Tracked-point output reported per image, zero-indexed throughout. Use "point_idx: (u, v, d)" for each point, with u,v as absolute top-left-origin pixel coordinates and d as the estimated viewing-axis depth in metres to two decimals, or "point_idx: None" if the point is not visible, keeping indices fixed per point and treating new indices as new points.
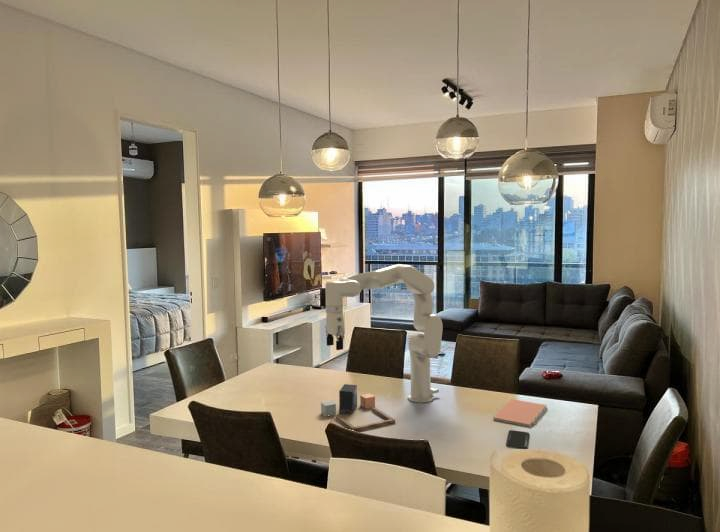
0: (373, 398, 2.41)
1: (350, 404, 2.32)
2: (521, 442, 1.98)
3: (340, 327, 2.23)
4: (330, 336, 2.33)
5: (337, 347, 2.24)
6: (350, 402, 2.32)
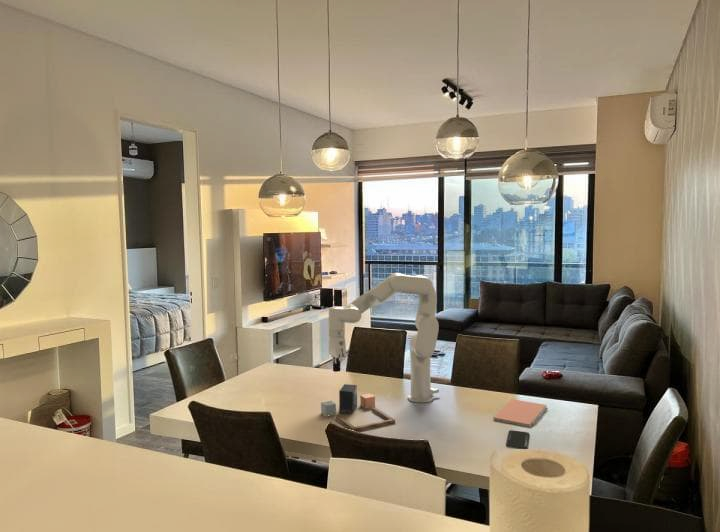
0: (373, 398, 2.41)
1: (350, 404, 2.32)
2: (521, 442, 1.98)
3: (341, 353, 2.41)
4: None
5: (335, 369, 2.45)
6: (350, 402, 2.32)
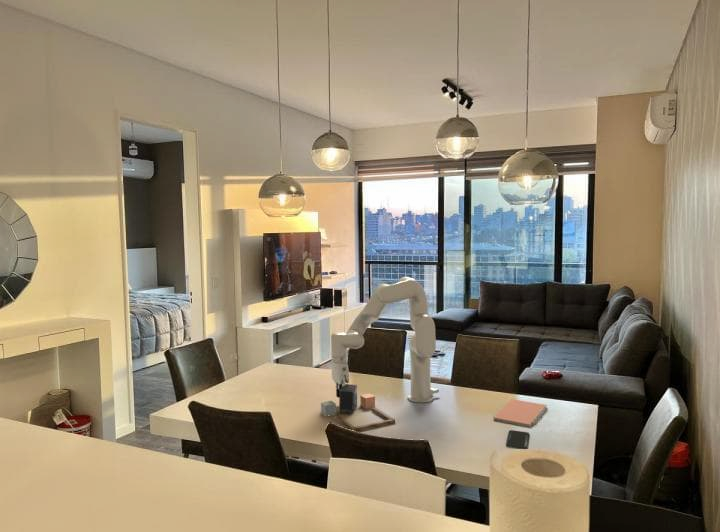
0: (373, 398, 2.41)
1: (350, 404, 2.32)
2: (521, 442, 1.98)
3: (344, 379, 2.40)
4: None
5: (338, 395, 2.44)
6: (350, 402, 2.32)
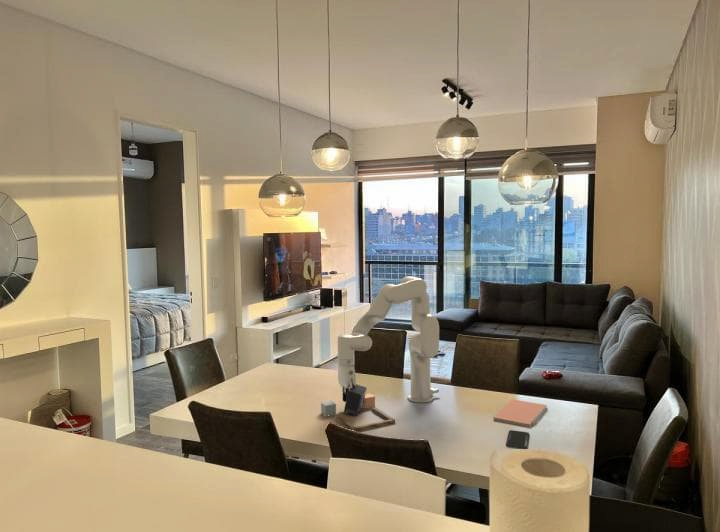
0: (373, 398, 2.41)
1: (356, 406, 2.29)
2: (520, 442, 1.98)
3: (350, 383, 2.34)
4: None
5: (344, 399, 2.37)
6: (356, 404, 2.29)
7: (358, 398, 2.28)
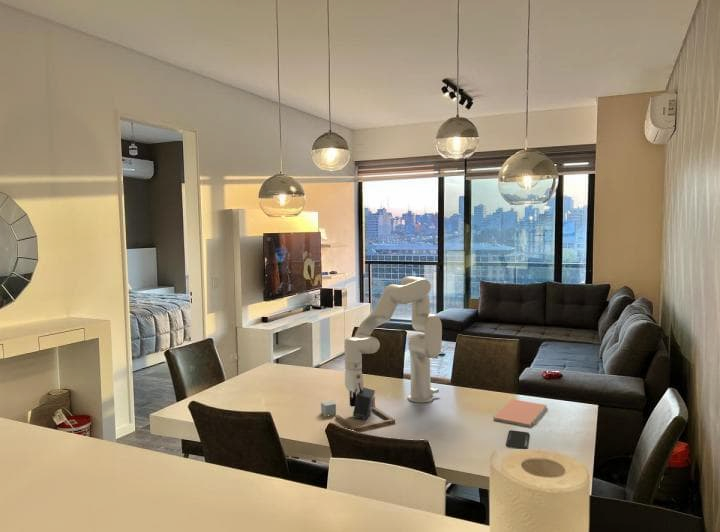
0: None
1: (365, 410, 2.24)
2: (520, 442, 1.98)
3: (358, 387, 2.27)
4: None
5: (352, 404, 2.31)
6: (366, 407, 2.24)
7: (367, 401, 2.24)
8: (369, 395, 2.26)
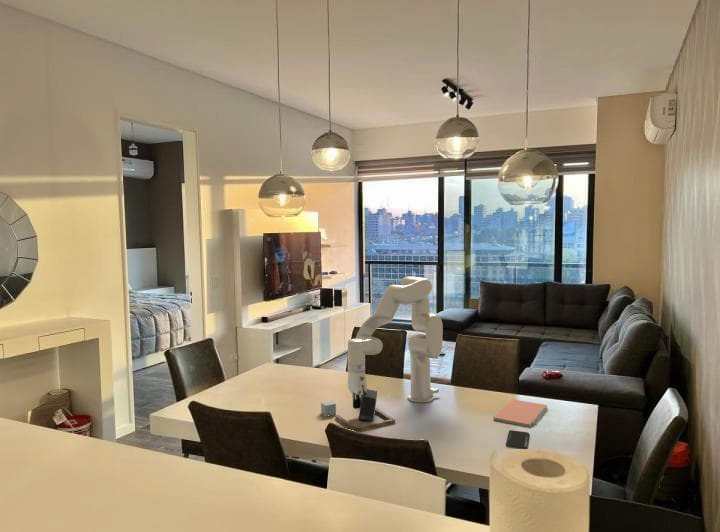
0: None
1: (371, 411, 2.22)
2: (520, 442, 1.98)
3: (361, 389, 2.25)
4: None
5: (355, 406, 2.28)
6: (372, 409, 2.22)
7: (373, 403, 2.22)
8: (374, 396, 2.24)
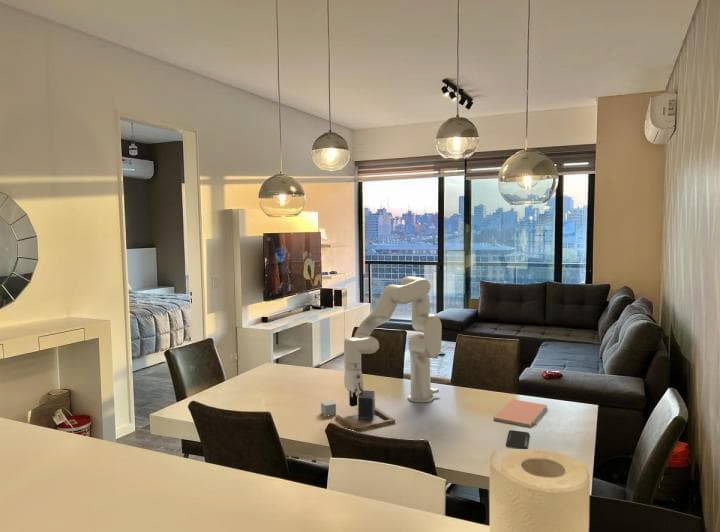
0: None
1: (370, 411, 2.23)
2: (520, 442, 1.98)
3: (358, 387, 2.28)
4: None
5: (351, 403, 2.32)
6: (370, 409, 2.23)
7: (370, 403, 2.22)
8: (370, 396, 2.24)
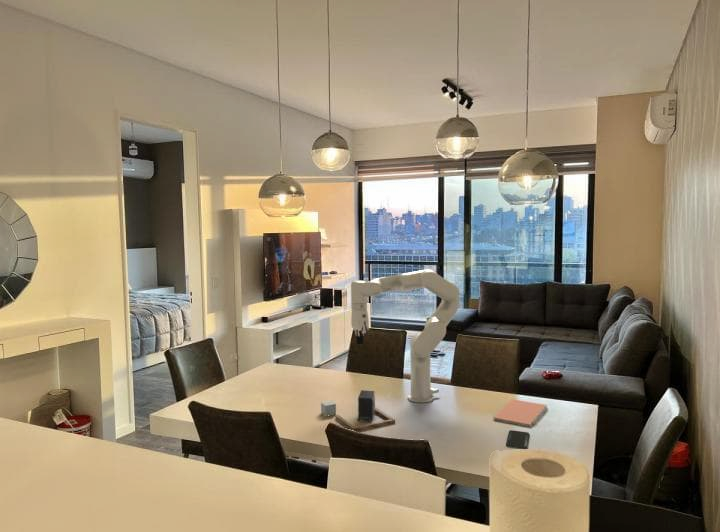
0: None
1: (370, 411, 2.23)
2: (520, 442, 1.98)
3: (364, 325, 2.46)
4: None
5: (358, 342, 2.50)
6: (370, 409, 2.23)
7: (370, 403, 2.22)
8: (370, 396, 2.24)
